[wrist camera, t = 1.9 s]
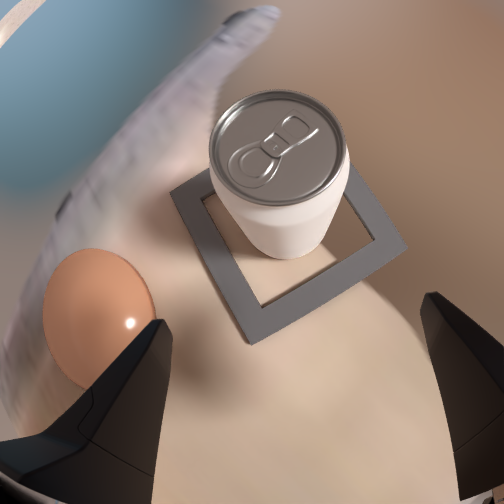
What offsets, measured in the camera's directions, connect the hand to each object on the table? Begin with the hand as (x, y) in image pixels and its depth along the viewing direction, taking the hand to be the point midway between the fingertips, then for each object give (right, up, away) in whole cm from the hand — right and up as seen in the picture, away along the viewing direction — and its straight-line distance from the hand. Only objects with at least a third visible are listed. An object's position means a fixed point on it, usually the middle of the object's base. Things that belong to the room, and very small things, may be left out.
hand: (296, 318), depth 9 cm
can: (+1, +5, +14) cm, 15 cm away
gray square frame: (+1, +5, +14) cm, 14 cm away
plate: (-16, -4, +15) cm, 22 cm away
